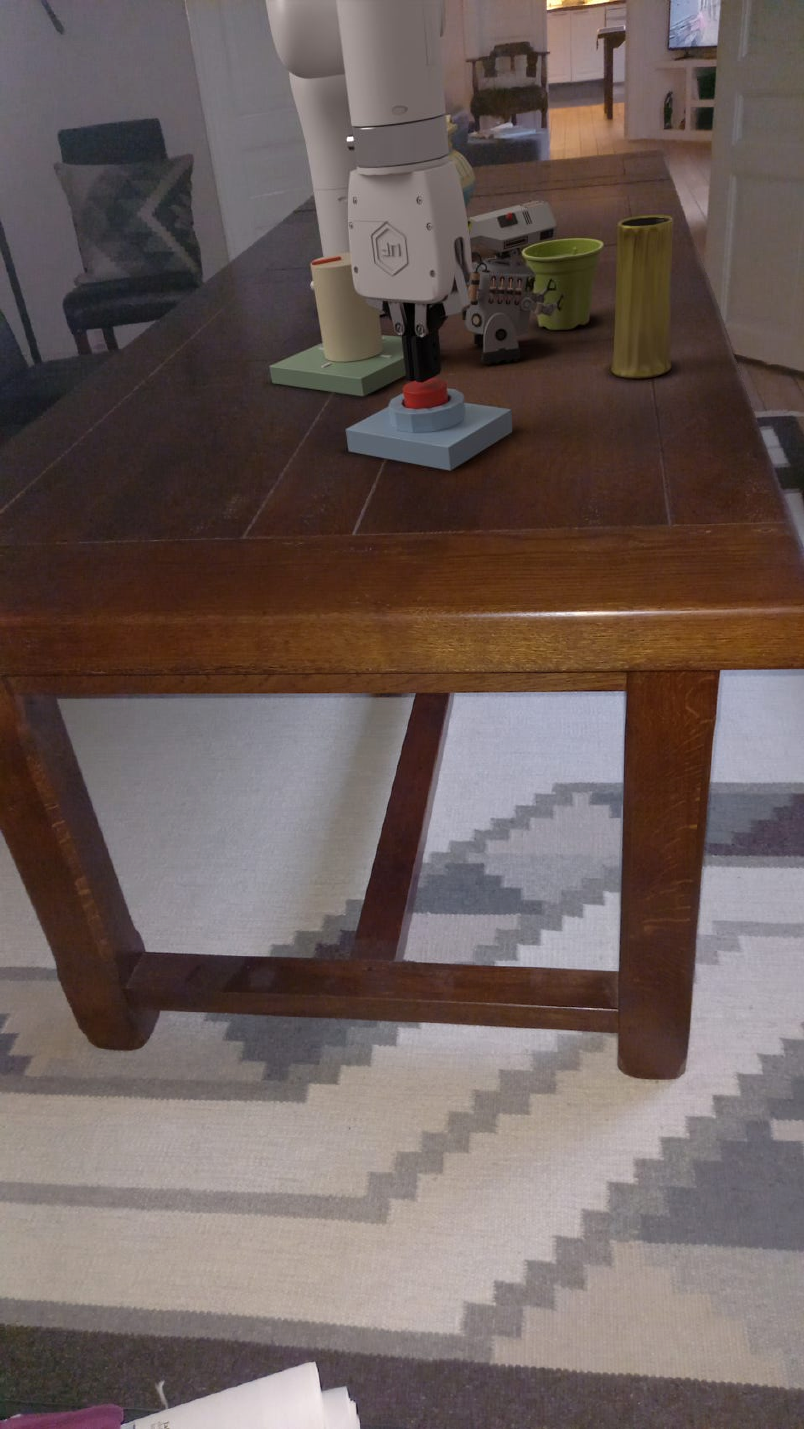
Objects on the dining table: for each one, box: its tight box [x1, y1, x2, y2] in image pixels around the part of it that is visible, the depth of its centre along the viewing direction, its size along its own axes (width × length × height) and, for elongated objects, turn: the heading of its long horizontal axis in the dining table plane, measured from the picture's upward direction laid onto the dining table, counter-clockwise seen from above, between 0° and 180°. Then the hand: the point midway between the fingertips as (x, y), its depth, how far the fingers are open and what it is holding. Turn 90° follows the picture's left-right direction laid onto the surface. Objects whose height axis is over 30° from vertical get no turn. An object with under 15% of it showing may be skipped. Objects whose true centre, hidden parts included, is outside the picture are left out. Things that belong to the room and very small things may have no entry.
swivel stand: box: [269, 334, 406, 397], centre depth 113 cm, size 14×14×2 cm
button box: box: [345, 387, 513, 471], centre depth 92 cm, size 12×10×4 cm
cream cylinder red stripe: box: [310, 252, 383, 362], centre depth 110 cm, size 7×7×10 cm
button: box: [402, 378, 448, 409], centre depth 90 cm, size 4×4×2 cm
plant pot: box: [521, 237, 604, 331], centre depth 117 cm, size 9×9×9 cm
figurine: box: [461, 199, 564, 366], centre depth 109 cm, size 9×12×15 cm
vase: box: [610, 214, 674, 380], centre depth 99 cm, size 6×6×14 cm
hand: (424, 377), depth 89 cm, fingers closed
